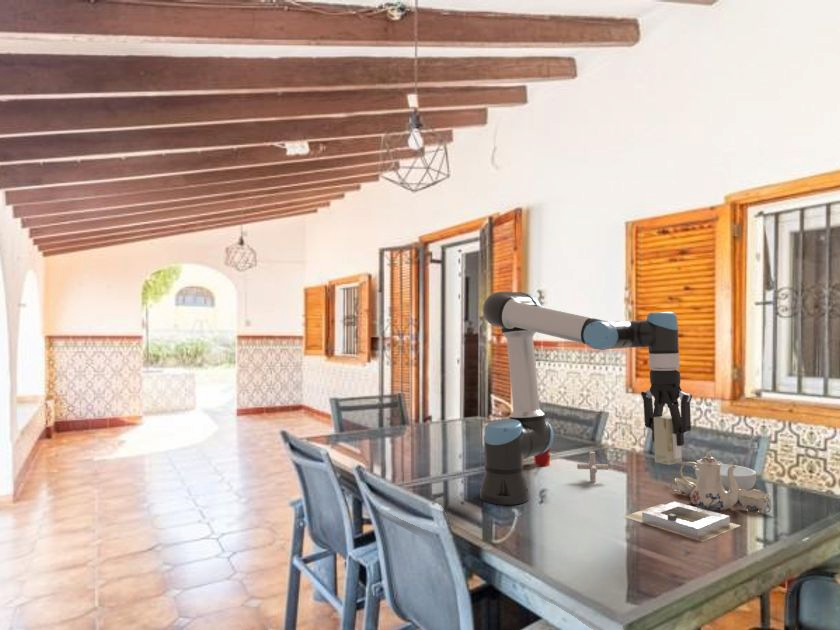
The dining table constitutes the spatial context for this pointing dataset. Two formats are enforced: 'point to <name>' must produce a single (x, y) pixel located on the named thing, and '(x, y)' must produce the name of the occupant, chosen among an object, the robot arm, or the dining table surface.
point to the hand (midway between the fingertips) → (668, 456)
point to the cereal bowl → (736, 476)
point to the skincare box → (664, 440)
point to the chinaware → (718, 488)
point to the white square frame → (702, 527)
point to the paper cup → (543, 459)
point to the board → (638, 517)
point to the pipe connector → (592, 467)
